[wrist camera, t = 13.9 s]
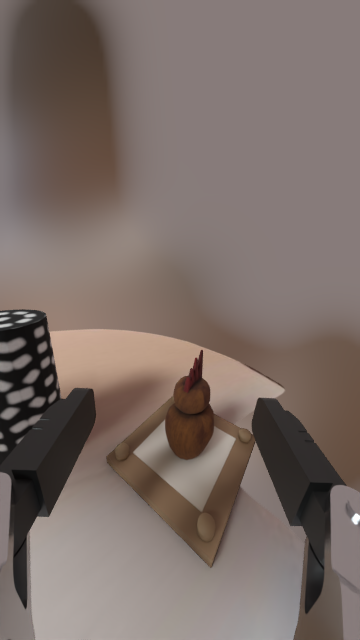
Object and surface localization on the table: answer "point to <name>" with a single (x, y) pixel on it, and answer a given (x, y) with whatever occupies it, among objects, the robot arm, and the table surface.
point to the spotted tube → (24, 375)
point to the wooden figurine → (190, 415)
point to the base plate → (186, 478)
